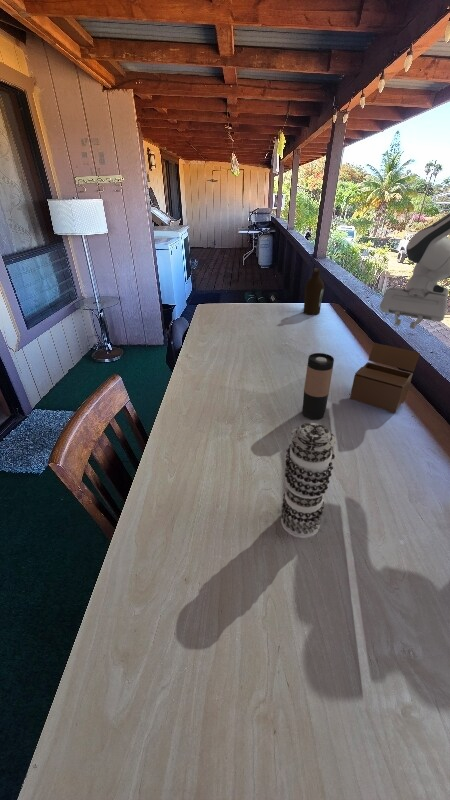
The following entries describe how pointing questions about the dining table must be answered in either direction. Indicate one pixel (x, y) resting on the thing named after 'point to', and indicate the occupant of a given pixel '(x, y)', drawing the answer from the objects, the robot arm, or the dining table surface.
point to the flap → (394, 356)
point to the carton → (380, 386)
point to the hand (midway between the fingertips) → (404, 326)
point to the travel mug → (317, 385)
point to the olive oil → (313, 294)
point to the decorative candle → (306, 478)
